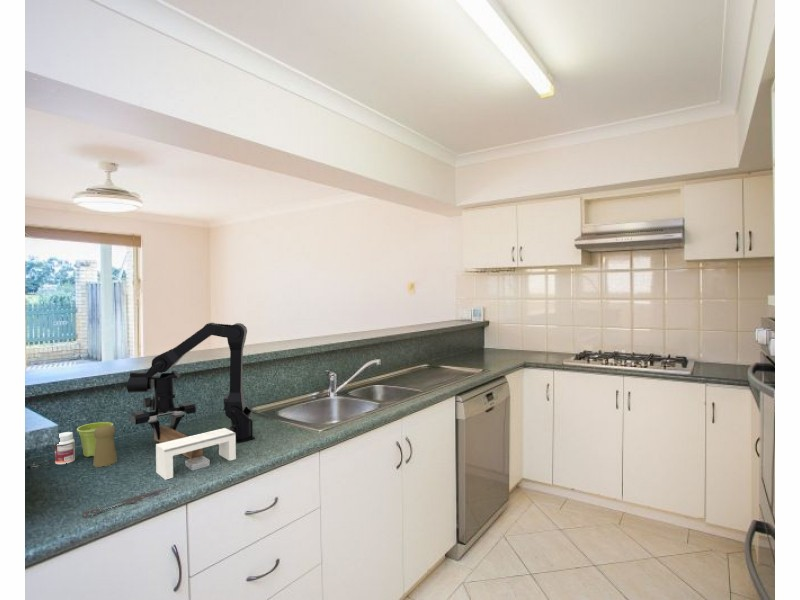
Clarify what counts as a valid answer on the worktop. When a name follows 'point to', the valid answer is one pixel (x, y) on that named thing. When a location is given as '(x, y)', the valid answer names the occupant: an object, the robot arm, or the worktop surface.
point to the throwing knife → (127, 501)
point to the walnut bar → (171, 434)
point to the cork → (104, 446)
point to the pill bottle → (65, 448)
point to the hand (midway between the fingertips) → (164, 438)
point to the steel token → (197, 462)
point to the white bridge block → (194, 448)
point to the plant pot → (89, 437)
